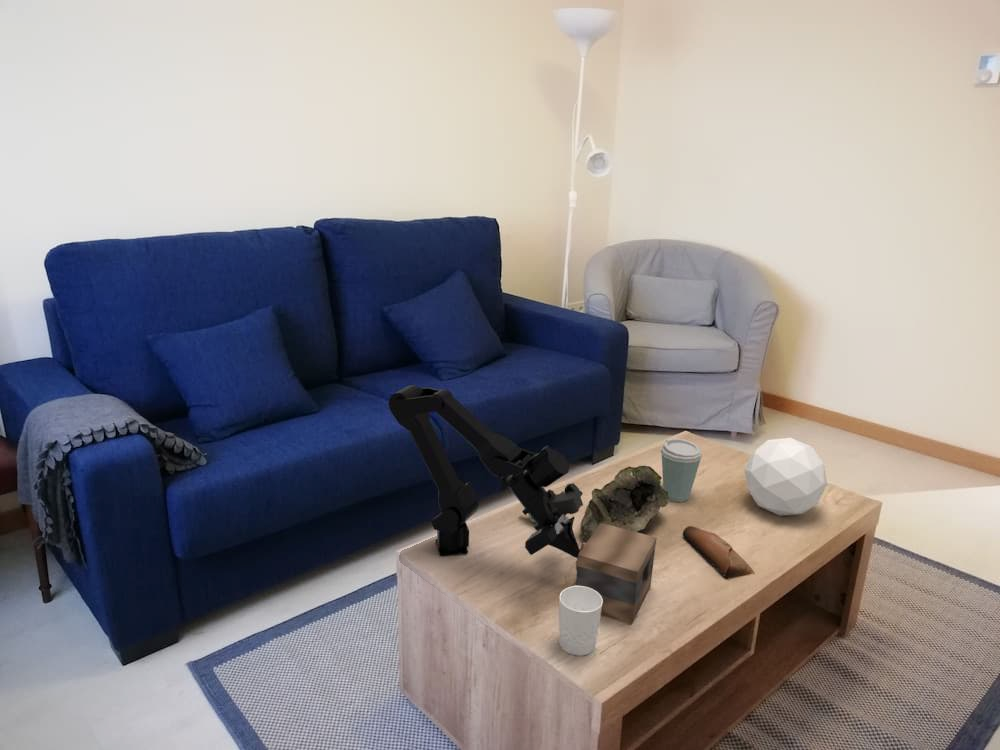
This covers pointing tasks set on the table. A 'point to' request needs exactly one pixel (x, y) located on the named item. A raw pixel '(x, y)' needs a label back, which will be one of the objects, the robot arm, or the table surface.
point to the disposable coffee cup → (679, 467)
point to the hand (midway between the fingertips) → (579, 556)
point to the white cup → (579, 619)
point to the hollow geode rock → (625, 501)
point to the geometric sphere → (785, 476)
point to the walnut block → (617, 570)
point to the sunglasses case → (717, 552)
